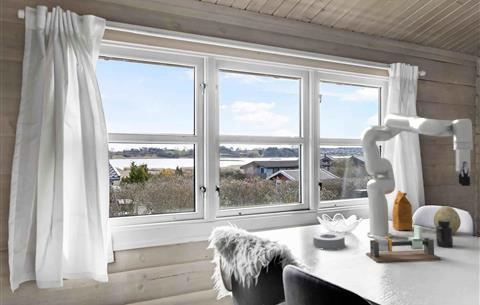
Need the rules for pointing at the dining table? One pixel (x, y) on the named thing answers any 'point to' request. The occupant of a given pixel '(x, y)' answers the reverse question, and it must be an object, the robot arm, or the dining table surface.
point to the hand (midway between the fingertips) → (464, 184)
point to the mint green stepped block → (416, 238)
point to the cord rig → (400, 256)
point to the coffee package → (402, 213)
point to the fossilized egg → (448, 217)
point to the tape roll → (329, 240)
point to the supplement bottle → (444, 234)
